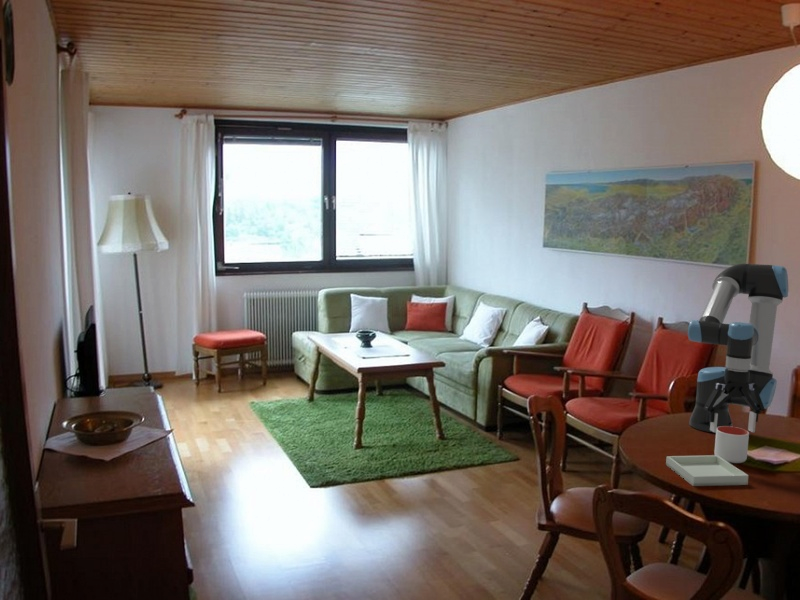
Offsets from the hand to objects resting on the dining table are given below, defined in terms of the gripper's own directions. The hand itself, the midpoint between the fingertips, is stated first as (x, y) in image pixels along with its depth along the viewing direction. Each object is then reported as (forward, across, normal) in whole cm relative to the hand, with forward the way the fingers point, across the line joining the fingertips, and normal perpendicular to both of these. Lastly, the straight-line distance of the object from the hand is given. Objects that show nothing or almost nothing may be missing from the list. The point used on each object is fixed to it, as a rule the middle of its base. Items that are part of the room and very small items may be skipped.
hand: (732, 431), depth 239 cm
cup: (+10, 0, 0) cm, 10 cm away
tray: (+10, +16, +12) cm, 22 cm away
